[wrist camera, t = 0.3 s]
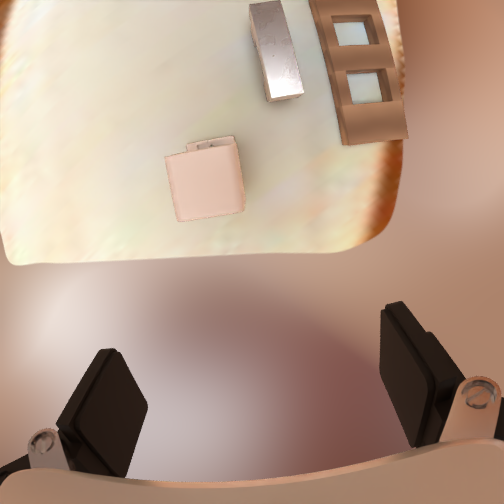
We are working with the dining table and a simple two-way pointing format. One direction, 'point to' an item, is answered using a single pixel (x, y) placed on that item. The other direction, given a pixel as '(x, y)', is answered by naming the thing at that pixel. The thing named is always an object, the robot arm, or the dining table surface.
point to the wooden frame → (360, 61)
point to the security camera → (206, 180)
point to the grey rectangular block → (275, 51)
